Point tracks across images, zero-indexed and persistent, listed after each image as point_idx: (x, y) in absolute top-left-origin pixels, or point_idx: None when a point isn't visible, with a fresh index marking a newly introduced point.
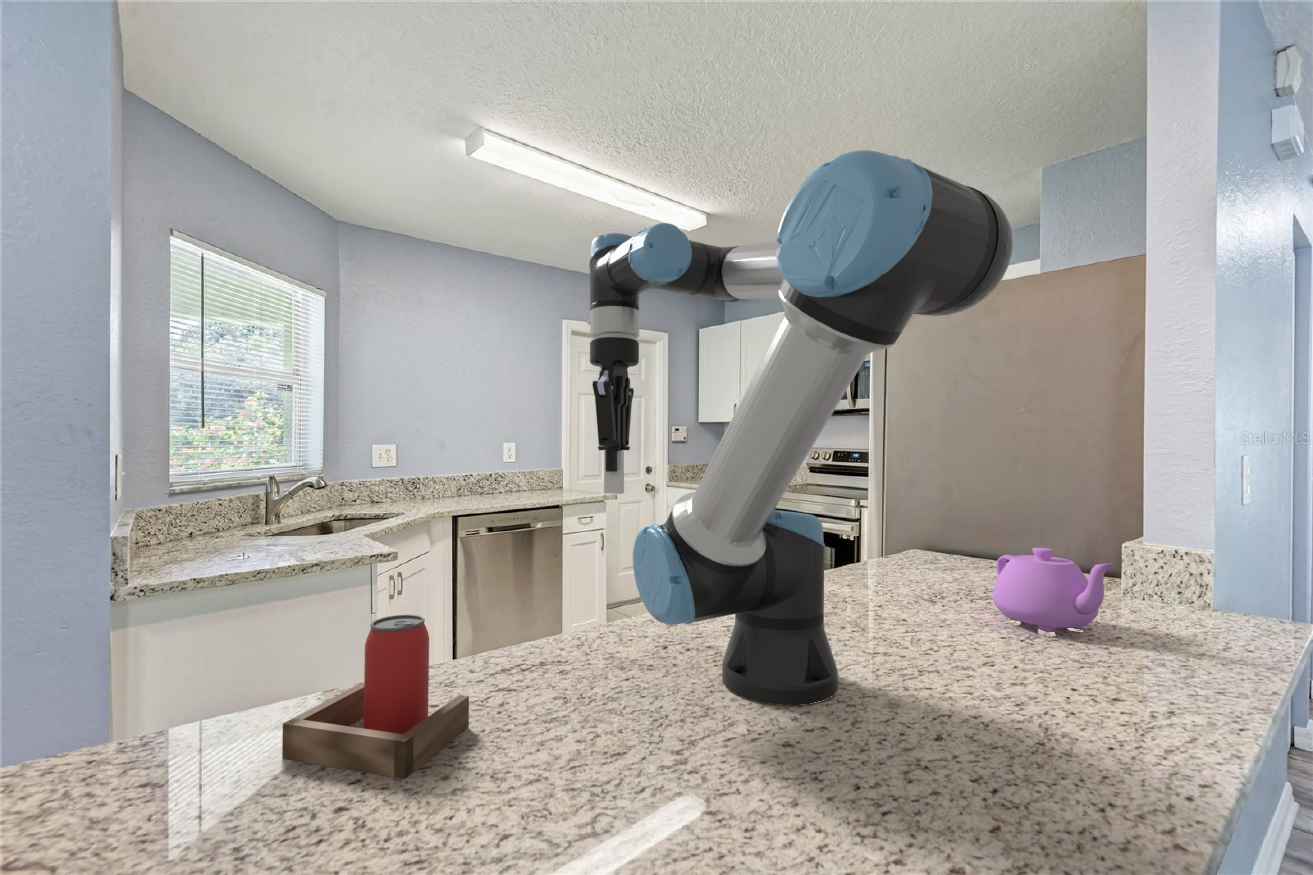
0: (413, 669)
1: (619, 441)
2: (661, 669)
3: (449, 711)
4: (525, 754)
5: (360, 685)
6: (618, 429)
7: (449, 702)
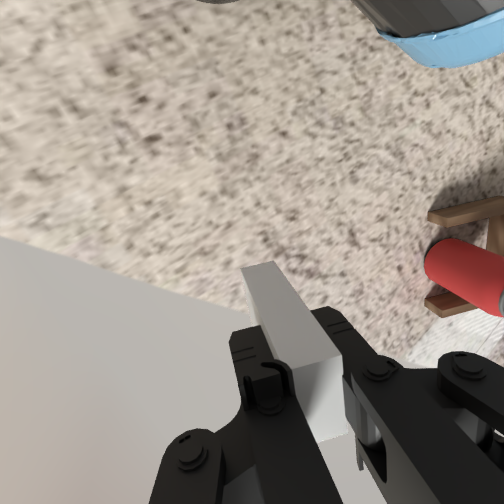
0: (499, 255)
1: (389, 397)
2: (236, 105)
3: (473, 211)
4: (456, 136)
5: (446, 313)
6: (479, 472)
7: (462, 223)
